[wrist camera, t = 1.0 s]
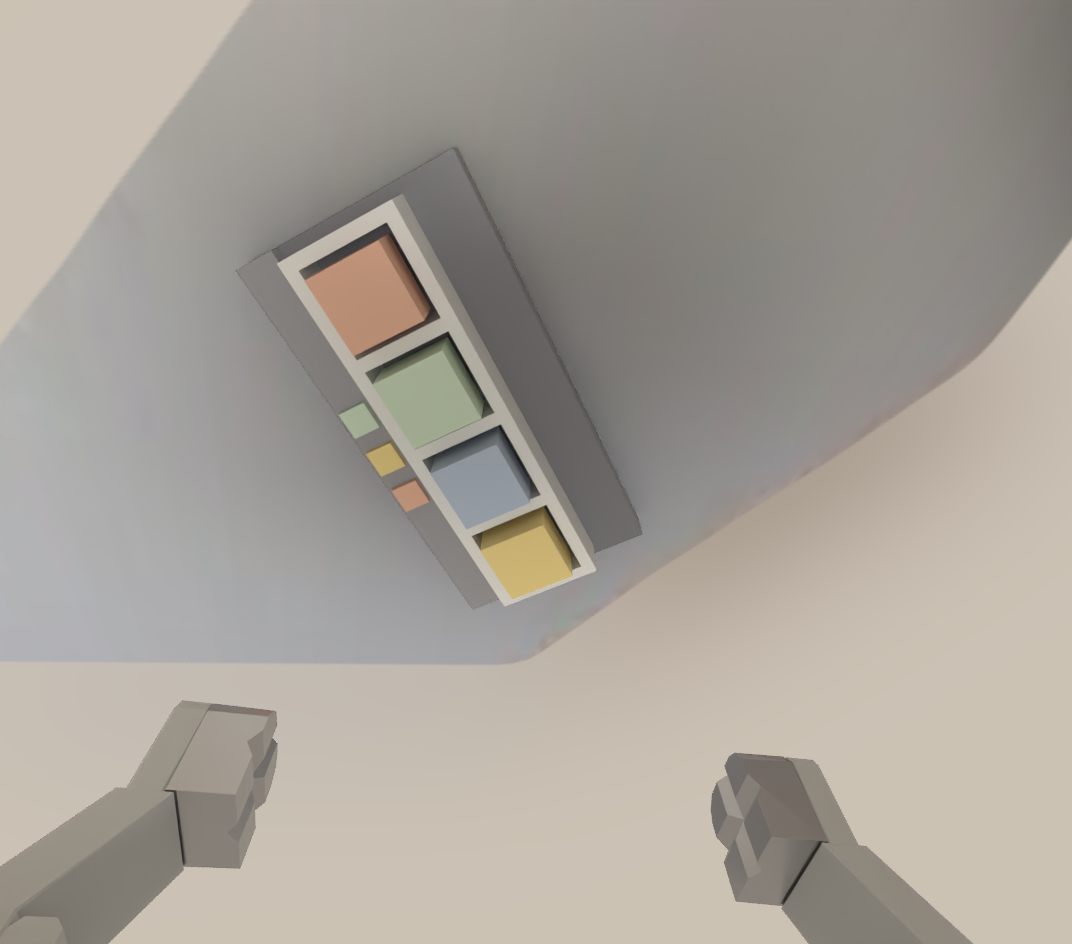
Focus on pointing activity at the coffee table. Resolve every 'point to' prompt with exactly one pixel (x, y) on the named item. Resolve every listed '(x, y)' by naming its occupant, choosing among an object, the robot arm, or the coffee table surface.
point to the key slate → (481, 478)
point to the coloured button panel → (486, 352)
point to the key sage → (429, 393)
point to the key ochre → (527, 553)
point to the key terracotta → (369, 295)
